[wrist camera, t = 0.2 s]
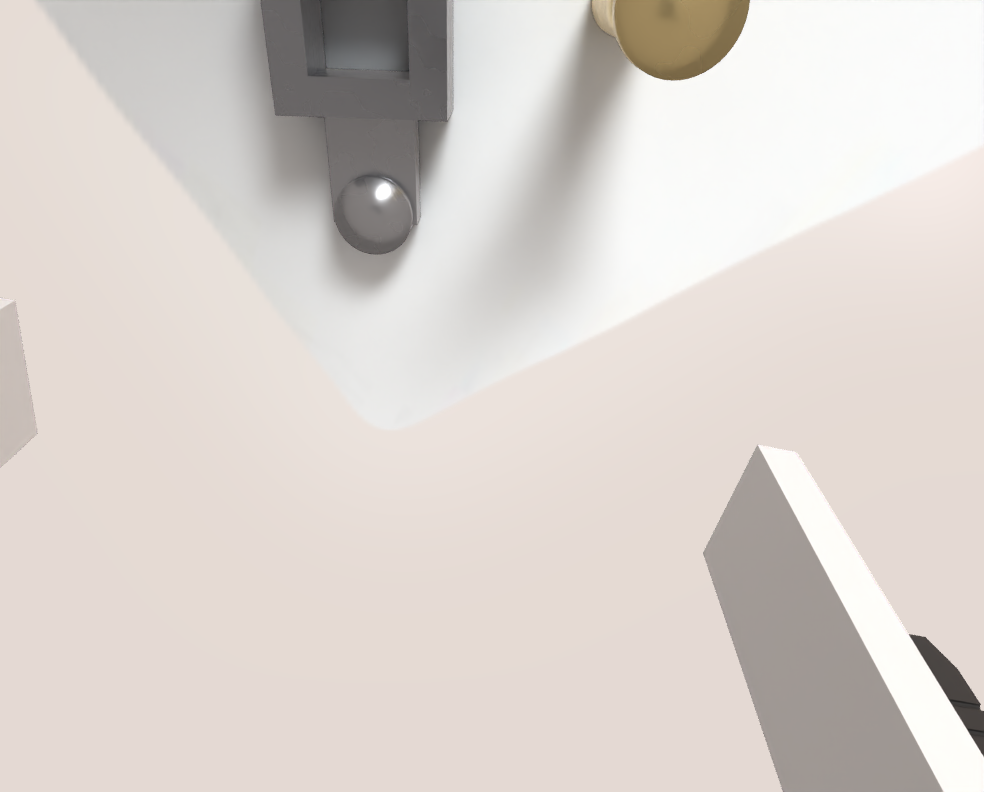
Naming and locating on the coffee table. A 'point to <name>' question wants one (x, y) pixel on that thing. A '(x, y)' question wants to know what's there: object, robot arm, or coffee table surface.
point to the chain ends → (365, 113)
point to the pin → (673, 32)
